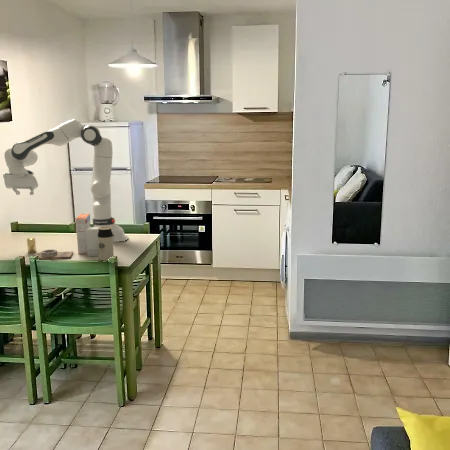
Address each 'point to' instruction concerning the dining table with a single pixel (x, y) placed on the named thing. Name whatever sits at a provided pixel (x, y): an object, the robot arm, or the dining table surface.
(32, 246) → the cylinder
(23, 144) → the robot arm
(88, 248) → the skincare box
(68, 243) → the dining table surface
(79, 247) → the cracker box
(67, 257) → the coupling base
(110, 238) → the travel mug
